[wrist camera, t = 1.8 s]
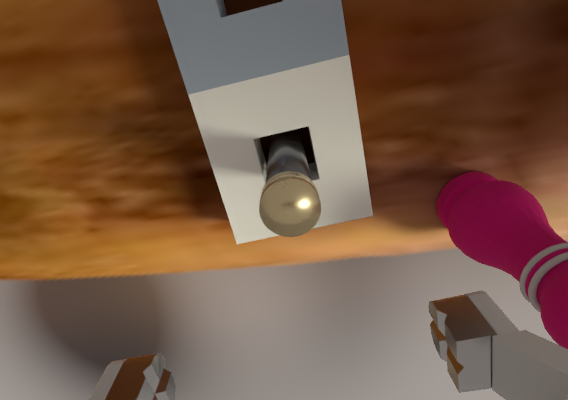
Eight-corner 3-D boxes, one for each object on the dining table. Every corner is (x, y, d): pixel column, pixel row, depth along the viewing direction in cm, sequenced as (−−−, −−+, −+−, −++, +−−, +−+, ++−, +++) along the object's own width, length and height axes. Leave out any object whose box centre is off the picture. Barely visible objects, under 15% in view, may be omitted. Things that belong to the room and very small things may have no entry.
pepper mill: (440, 244, 37) (602, 442, 18) (422, 183, 34) (589, 344, 16) (511, 218, 35) (760, 401, 17) (498, 154, 33) (775, 289, 14)
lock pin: (300, 122, 32) (314, 174, 19) (308, 158, 33) (326, 229, 20) (263, 131, 32) (252, 187, 19) (272, 166, 33) (267, 242, 20)
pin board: (308, -147, 24) (313, -187, 20) (361, 195, 34) (373, 215, 30) (142, -98, 25) (115, -126, 21) (242, 221, 35) (237, 244, 31)
